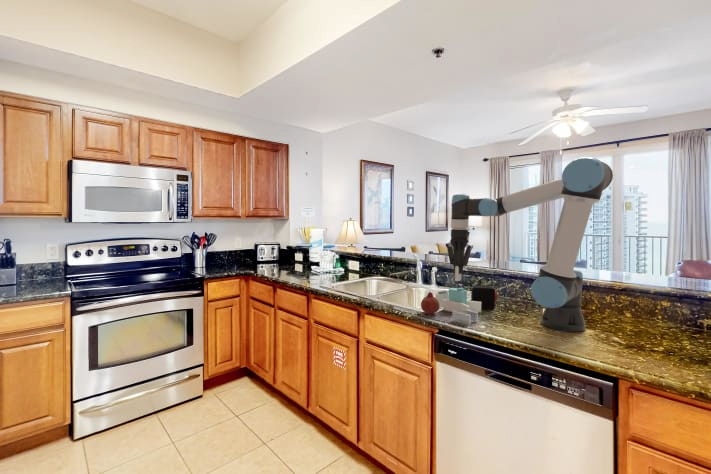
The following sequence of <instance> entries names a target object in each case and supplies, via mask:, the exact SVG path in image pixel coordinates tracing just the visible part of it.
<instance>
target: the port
mask: <svg viewBox="0 0 711 474" xmlns="http://www.w3.org/2000/svg"><path fill="white" fill-rule="evenodd" d="M448 295H449V291H448V290H440V291H437V293H435V298H436V299H437V300H438V302H439V309H440V308H442V310H443V311H446V312H451V313H452V311H456V312H460V309H461V308H462V309H466V310H471V311H475V312H478V313H482V309H481V302H477V301H471V299H470V300H468V299H467V305H466V304H464V303H459V302H455V301H450V300H448Z"/></svg>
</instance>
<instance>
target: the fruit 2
mask: <svg viewBox="0 0 711 474" xmlns="http://www.w3.org/2000/svg"><path fill="white" fill-rule="evenodd" d="M420 308H421V310H422V311H423V312H424V313H425V314H427V315H434V314H436V313H437V312H438V311H439V310H440V308H439V302H438V300H437V299H436V296H434V295H433V292H431V291H428V293H427V295H426V296H424V297H423V298H422V299H421V302H420Z"/></svg>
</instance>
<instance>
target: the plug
mask: <svg viewBox="0 0 711 474" xmlns="http://www.w3.org/2000/svg"><path fill="white" fill-rule="evenodd" d="M467 298H468V289H467V290H466V289H465V288H463V287H458V288H457V287H451V288H449V289H448V300H450V301H455V302H459V303H464V304H466V305H467V300H468V299H467Z"/></svg>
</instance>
